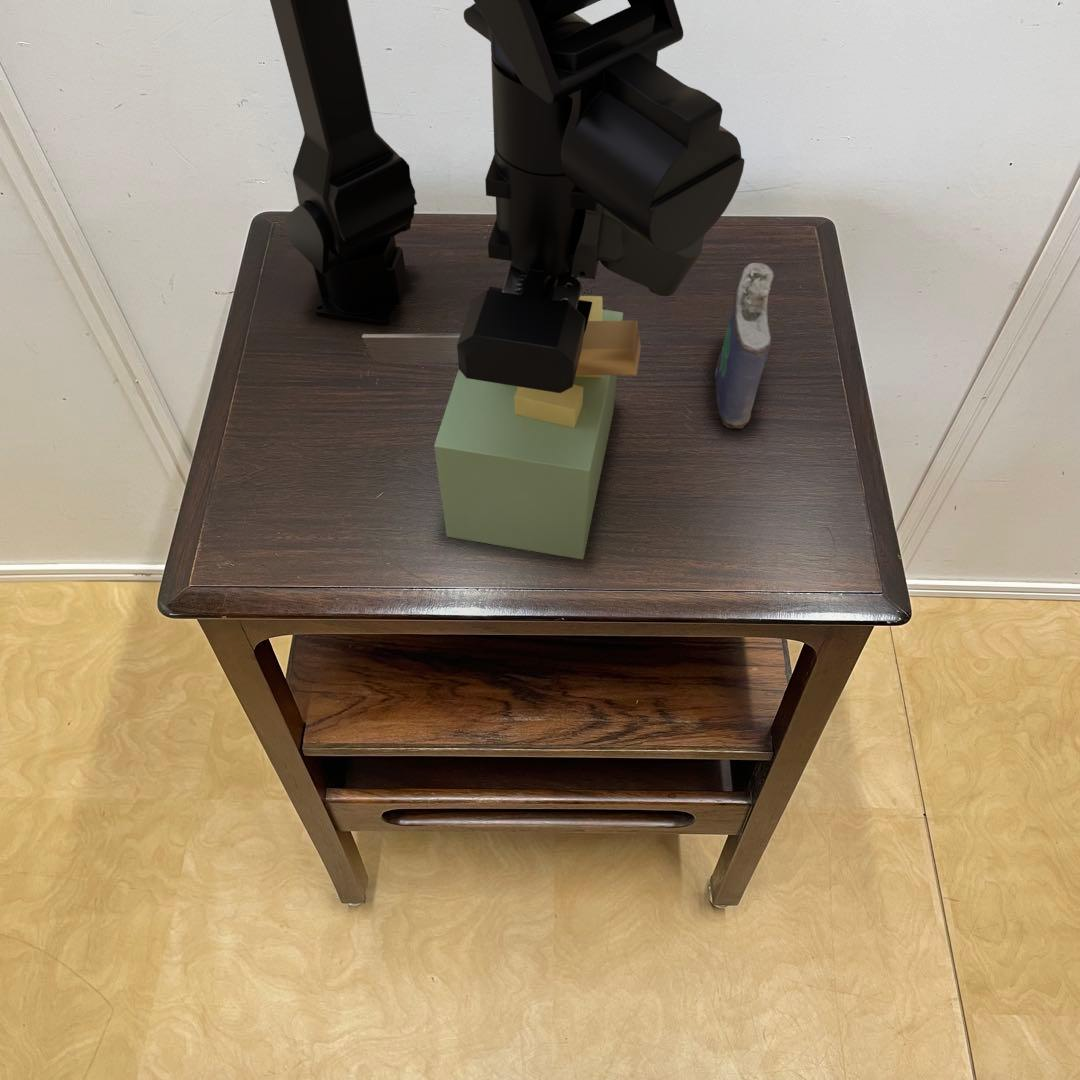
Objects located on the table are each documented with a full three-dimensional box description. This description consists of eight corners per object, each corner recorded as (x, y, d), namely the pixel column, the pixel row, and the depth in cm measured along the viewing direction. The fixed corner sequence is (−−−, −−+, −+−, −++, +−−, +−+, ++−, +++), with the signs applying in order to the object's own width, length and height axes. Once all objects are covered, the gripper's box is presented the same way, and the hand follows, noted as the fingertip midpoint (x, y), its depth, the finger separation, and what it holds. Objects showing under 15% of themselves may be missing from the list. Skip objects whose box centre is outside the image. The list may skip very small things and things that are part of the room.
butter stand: (446, 537, 72) (433, 445, 63) (489, 391, 79) (483, 292, 70) (583, 560, 71) (590, 470, 62) (613, 411, 78) (623, 311, 69)
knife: (641, 347, 63) (637, 320, 61) (636, 375, 62) (632, 349, 60) (378, 347, 68) (366, 322, 66) (369, 374, 67) (357, 349, 65)
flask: (749, 432, 77) (777, 332, 68) (711, 427, 77) (734, 327, 68) (753, 345, 82) (779, 242, 73) (717, 341, 82) (739, 238, 73)
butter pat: (514, 414, 64) (514, 396, 63) (523, 392, 65) (523, 373, 64) (574, 428, 64) (575, 409, 62) (582, 405, 65) (583, 386, 63)
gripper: (686, 290, 45) (650, 492, 58) (726, 55, 55) (688, 273, 68) (445, 255, 46) (463, 460, 59) (528, 31, 56) (528, 250, 69)
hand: (545, 354), depth 64 cm, fingers closed on knife, 2 cm apart
